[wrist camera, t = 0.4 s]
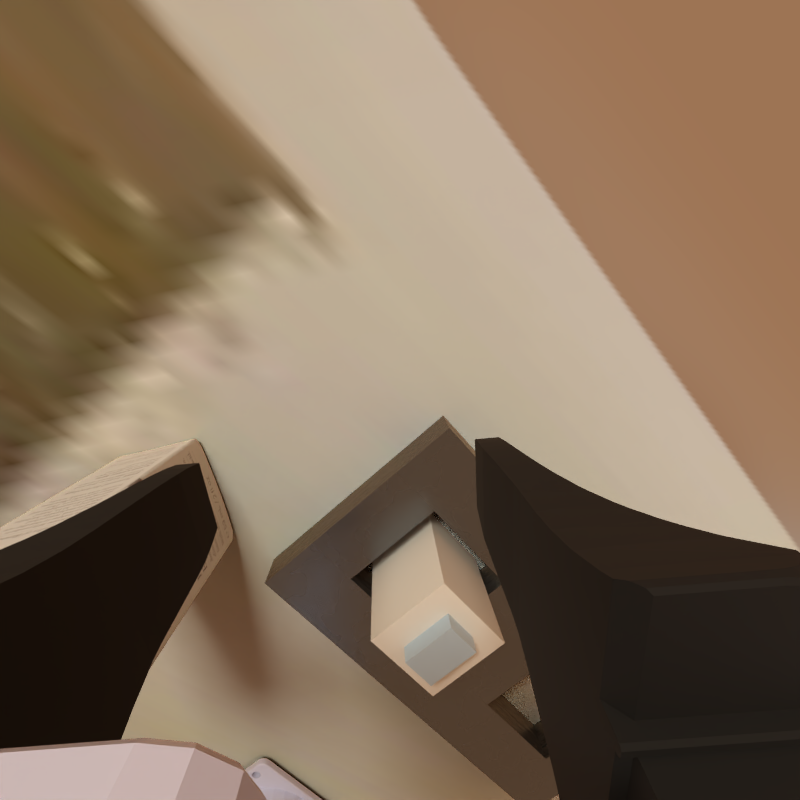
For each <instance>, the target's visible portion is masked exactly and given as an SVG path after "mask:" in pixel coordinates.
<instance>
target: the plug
mask: <svg viewBox="0 0 800 800" xmlns="http://www.w3.org/2000/svg"><path fill="white" fill-rule="evenodd" d="M371 642H372V643H374V644H375V645H376V646H377V647H378V648H379V649H380V650H381V651H383V652H384V653H385V654H386V655H387V656H388V657H389V658H390V659H392V660H393V661H394V662H395V663H396V664H397V665H398V666H399V667H401V668H402V669H403V670H404V671H405V672H406V673H407V674H408V675H410V676H411V677H412V678H413V679H414V680H415V681H416V682H417V683H419V684H420V685H421V686H422V687H423V688H424V689H425V690H426V691H428V692H429V693H430V694H431V695H432V696H434V695H436V694H437V693H438V692H440V691H441V690H442V689H444V688H445V687H446V686H448V685H449V684H450V683H452V682H453V681H454V680H456V679H457V678H458V677H460V676H461V675H463V674H464V673H465V672H467V671H468V670H469V669H471V668H472V667H473V666H475V665H476V664H477V663H479V662H480V661H481V660H483V659H484V658H485V657H487V656H488V655H490V654H491V653H492V652H494V651H495V650H496V649H498V648H499V647H500V646H502V645H503V644H504V643H505V642H504V639H503V636H502V633H501V630H500V628H499V625H498V622H497V619H496V616H495V614H494V611H493V608H492V605H491V602H490V599H489V597H488V594H487V591H486V588H485V585H484V582H483V580H482V577H481V574H480V571H479V568H478V565H477V563H476V560H475V558H474V557H473V556H472V555H471V554H470V553H469V552H468V551H467V550H466V549H465V548H464V547H463V546H462V545H461V543H460V542H459V541H458V540H457V539H456V538H455V537H454V536H453V535H452V534H451V533H450V532H449V531H448V530H447V529H446V528H445V527H444V526H443V525H442V524H441V523H440V522H439V521H438V520H437V519H436V518H435V517H434V516H433V515H432V514H430V515H429V516H428V517H427V518H425V519H424V520H423V521H422V522H421V523H419V524H418V525H417V526H416V527H414V528H413V529H412V530H411V531H409V532H408V533H407V534H406V535H405V536H403V537H402V538H401V539H400V540H398V541H397V542H396V543H395V544H393V545H392V546H391V547H390V548H389V549H387V550H386V551H385V552H384V553H382V554H381V555H380V556H379V557H378V558H376V559H375V560H374V561H373V568H372V607H371Z"/></svg>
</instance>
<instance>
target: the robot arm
mask: <svg viewBox="0 0 800 800" xmlns="http://www.w3.org/2000/svg"><path fill="white" fill-rule="evenodd" d="M475 457H476V494H477V509H478V514H479V518H480V523H481V527H482V531H483V536H484V540H485V542H486V545H487V548H488V551H489V553H490V556H491V559H492V562H493V564H494V567H495V570H496V572H497V575H498V578H499V580H500V583H501V586H502V588H503V591H504V594H505V596H506V599H507V601H508V604H509V607H510V609H511V612H512V615H513V618H514V621H515V624H516V627H517V630H518V633H519V637H520V641H521V644H522V648H523V652H524V656H525V660H526V663H527V667H528V671H529V675H530V679H531V683H532V687H533V691H534V695H535V698H536V702H537V706H538V710H539V714H540V718H541V722H542V726H543V731H544V735H545V739H546V743H547V747H548V752H549V756H550V760H551V764H552V768H553V773H554V777H555V781H556V785H557V790H558V794H559V798H560V800H800V553H799V552H798V551H797V550H792V549H787V548H782V547H777V546H772V545H767V544H761V543H756V542H751V541H746V540H741V539H736V538H731V537H726V536H722V535H717V534H713V533H710V532H706V531H702V530H698V529H694V528H690V527H686V526H683V525H679V524H676V523H672V522H669V521H666V520H662V519H659V518H656V517H653V516H650V515H647V514H645V513H642V512H639V511H636V510H633V509H630V508H627V507H625V506H622V505H620V504H617V503H615V502H612V501H610V500H608V499H605V498H603V497H601V496H599V495H596V494H594V493H592V492H590V491H587V490H585V489H583V488H581V487H579V486H577V485H575V484H574V483H572V482H570V481H568V480H566V479H564V478H563V477H561V476H559V475H557V474H555V473H554V472H552V471H550V470H549V469H547V468H545V467H544V466H542V465H540V464H539V463H537V462H536V461H534V460H533V459H531V458H530V457H528V456H527V455H525V454H524V453H522V452H521V451H519V450H518V449H516V448H515V447H513V446H512V445H510V444H509V443H507V442H506V441H504V440H502V439H501V438H499V437H497V438H486V439H475ZM217 529H218V527H217V524H216V520H215V517H214V513H213V510H212V506H211V503H210V499H209V496H208V492H207V489H206V485H205V481H204V478H203V474H202V471H201V467H200V464H199V463H192V464H180V465H174V466H172V467H169V468H166V469H164V470H162V471H160V472H158V473H156V474H153V475H151V476H149V477H147V478H146V479H144V480H142V481H140V482H138V483H136V484H134V485H132V486H130V487H128V488H126V489H125V490H123V491H121V492H119V493H117V494H115V495H113V496H111V497H110V498H108V499H106V500H104V501H102V502H100V503H98V504H96V505H94V506H92V507H90V508H88V509H86V510H84V511H82V512H80V513H78V514H76V515H74V516H72V517H70V518H68V519H66V520H64V521H63V522H61V523H59V524H57V525H55V526H52V527H50V528H48V529H46V530H44V531H42V532H40V533H37V534H35V535H33V536H31V537H29V538H26V539H24V540H22V541H19V542H17V543H15V544H12V545H10V546H8V547H5V548H3V549H0V800H322V799H321V798H319V797H318V796H317V795H315V794H314V793H313V792H311V791H310V790H309V789H307V788H306V787H305V786H303V785H302V784H301V783H299V782H298V781H297V780H295V779H294V778H293V777H291V776H290V775H289V774H287V773H286V772H285V771H283V770H282V769H281V768H279V767H278V766H277V765H275V764H274V763H273V762H271V761H270V760H269V759H267V758H261V759H259V760H257V761H256V762H254V763H253V764H252V765H250V766H249V767H248V768H247V769H244V768H243V767H242V766H241V764H240V763H239V762H237V761H234V760H232V759H230V758H228V757H226V756H224V755H222V754H219V753H217V752H215V751H213V750H211V749H209V748H206V747H204V746H202V745H200V744H198V743H193V742H182V741H172V740H161V739H151V738H137V739H124V740H121V738H122V735H123V733H124V730H125V727H126V725H127V722H128V720H129V717H130V714H131V712H132V709H133V707H134V704H135V702H136V700H137V697H138V695H139V692H140V690H141V688H142V685H143V683H144V681H145V678H146V676H147V673H148V671H149V669H150V666H151V664H152V662H153V660H154V658H155V656H156V654H157V652H158V650H159V648H160V646H161V644H162V642H163V640H164V638H165V636H166V634H167V633H168V631H169V629H170V627H171V625H172V623H173V622H174V620H175V618H176V616H177V614H178V612H179V611H180V609H181V607H182V605H183V603H184V601H185V600H186V598H187V596H188V594H189V592H190V590H191V589H192V587H193V585H194V583H195V581H196V579H197V577H198V575H199V574H200V572H201V570H202V568H203V566H204V564H205V562H206V559H207V557H208V554H209V552H210V549H211V546H212V543H213V540H214V537H215V535H216V532H217Z"/></svg>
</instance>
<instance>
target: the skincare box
mask: <svg viewBox="0 0 800 800" xmlns="http://www.w3.org/2000/svg"><path fill="white" fill-rule="evenodd" d="M192 463H199V464H200V467H201V471H202V474H203V478H204V481H205V485H206V489H207V492H208V496H209V499H210V503H211V506H212V510H213V513H214V517H215V520H216V524H217V527H218V529H217V532H216V535H215V537H214V540H213V543H212V546H211V549H210V552H209V554H208V557H207V559H206V562H205V564H204V566H203V568H202V570H201V572H200V574H199V575H198V577H197V579H196V581H195V583H194V585H193V587H192V589H191V590H190V592H189V594H188V596H187V598H186V600H185V601H184V603H183V605H182V607H181V609H180V611H179V612H178V614H177V616H176V618H175V620H174V622H173V623H172V625H171V627H170V629H169V631H168V633H167V634H166V636H165V638H164V640H163V642H162V644H161V646H160V648H159V650H158V652H157V654H156V656H155V658H154V660H153V662H152V664H153V663H154V661H155V660H156V658H157V657H158V655H159V654H160V652H161V651H162V649H163V648H164V646H165V644H166V643H167V641H168V639H169V638H170V636H171V635H172V633H173V632H174V630H175V629H176V627H177V626H178V624H179V623H180V621H181V620H182V618H183V616H184V615H185V613H186V612H187V610H188V609H189V607H190V606H191V604H192V603H193V601H194V599H195V598H196V596H197V595H198V593H199V592H200V590H201V589H202V587H203V585H204V584H205V582H206V581H207V579H208V578H209V576H210V575H211V573H212V572H213V570H214V568H215V567H216V565H217V564H218V562H219V561H220V559H221V558H222V556H223V554H224V553H225V551H226V550H227V548H228V547H229V545H230V544H231V542H232V541H233V530H232V526H231V523H230V520H229V517H228V514H227V511H226V508H225V505H224V502H223V499H222V496H221V494H220V491H219V488H218V486H217V483H216V480H215V478H214V475H213V473H212V471H211V468H210V465H209V463H208V461H207V458H206V456H205V453H204V451H203V449H202V447H201V445H200V443H199V442H198V441H197V440H196V439H191V440H187V441H183V442H178V443H174V444H170V445H166V446H163V447H159V448H154V449H151V450H146V451H142V452H138V453H133V454H129V455H124V456H120V457H118V458H116V459H115V460H113V461H111V462H110V463H108V464H106V465H105V466H103V467H102V468H100V469H98V470H97V471H95V472H93V473H92V474H90V475H88V476H86V477H85V478H83V479H81V480H80V481H78V482H76V483H75V484H73V485H71V486H69V487H68V488H66V489H64V490H63V491H61V492H59V493H58V494H56V495H54V496H53V497H51V498H49V499H47V500H46V501H44V502H42V503H41V504H39V505H37V506H36V507H34V508H32V509H31V510H29V511H27V512H25V513H24V514H22V515H20V516H19V517H17V518H15V519H14V520H12V521H10V522H9V523H7V524H5V525H4V526H2V527H0V549H3V548H5V547H8V546H10V545H12V544H15V543H17V542H19V541H22V540H24V539H26V538H29V537H31V536H33V535H35V534H37V533H40V532H42V531H44V530H46V529H48V528H50V527H52V526H55V525H57V524H59V523H61V522H63V521H64V520H66V519H68V518H70V517H72V516H74V515H76V514H78V513H80V512H82V511H84V510H86V509H88V508H90V507H92V506H94V505H96V504H98V503H100V502H102V501H104V500H106V499H108V498H110V497H111V496H113V495H115V494H117V493H119V492H121V491H123V490H125V489H126V488H128V487H130V486H132V485H134V484H136V483H138V482H140V481H142V480H144V479H146V478H147V477H149V476H151V475H153V474H156V473H158V472H160V471H162V470H164V469H166V468H169V467H172V466H174V465H180V464H192ZM152 664H151V666H152ZM151 666H150V668H151Z"/></svg>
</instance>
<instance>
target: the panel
mask: <svg viewBox="0 0 800 800" xmlns="http://www.w3.org/2000/svg"><path fill="white" fill-rule="evenodd" d="M434 511H435V512H436V513H437V514H438V515H439V516H440V517H441V518H442V519H443V521H444V522H445V523H446V524H447V525H448V526H449V527H450V528H451V529H452V530H453V531H454V532H455V533H456V534H457V535H458V536H459V537H460V538H461V539H462V540H463V541H464V542H465V543H466V544H467V545H468V546H469V547H470V548H471V549H472V550H473V551H474V552H475V554H476V555H477V556H478V557H479V558H480V559H481V560H482V561H483V562H484V563H485V564H486V566H485V567H484V568H482V569H481V570H480V574H481V577H482V580H483V582H484V585H485V588H486V591H487V594H488V597H489V599H490V602H491V605H492V608H493V611H494V614H495V616H496V619H497V622H498V625H499V628H500V630H501V633H502V636H503V639H504V642H505V643H504V644H503V645H502V646H500V647H499V648H498V649H496V650H495V651H494V652H492V653H491V654H490V655H488V656H487V657H485V658H484V659H483V660H481V661H480V662H479V663H477V664H476V665H475V666H473V667H472V668H471V669H469V670H468V671H467V672H465V673H464V674H463V675H461V676H460V677H458V678H457V679H456V680H454V681H453V682H452V683H450V684H449V685H448V686H446V687H445V688H444V689H442V690H441V691H440V692H438V693H437V694H436V695H434V696H432V695H431V694H430V693H429V692H428V691H426V690H425V689H424V688H423V687H422V686H421V685H420V684H419V683H417V682H416V681H415V680H414V679H413V678H412V677H411V676H410V675H408V674H407V673H406V672H405V671H404V670H403V669H402V668H401V667H399V666H398V665H397V664H396V663H395V662H394V661H393V660H392V659H390V658H389V657H388V656H387V655H386V654H385V653H384V652H383V651H381V650H380V649H379V648H378V647H377V646H376V645H375V644H374V643H372V642H371V607H372V573H371V572H370V571H369V570H368V569H367V568H366V566H368V565H369V564H370V563H371V562H373V561H374V560H375V559H376V558H378V557H379V556H380V555H381V554H382V553H384V552H385V551H386V550H387V549H389V548H390V547H391V546H392V545H393V544H395V543H396V542H397V541H398V540H400V539H401V538H402V537H403V536H405V535H406V534H407V533H408V532H409V531H411V530H412V529H413V528H414V527H416V526H417V525H418V524H419V523H421V522H422V521H423V520H424V519H425V518H427V517H428V516H429V515H430V514H432V513H433V512H434ZM265 584H266V585H268V586H269V587H270V588H271V589H272V590H273V591H274V592H276V593H277V594H278V595H279V596H280V597H281V598H283V599H284V600H285V601H286V602H287V603H288V604H289V605H291V606H292V607H293V608H294V609H295V610H296V611H298V612H299V613H300V614H301V615H302V616H303V617H304V618H306V619H307V620H308V621H309V622H310V623H311V624H313V625H314V626H315V627H316V628H317V629H318V630H320V631H321V632H322V633H323V634H324V635H325V636H326V637H328V638H329V639H330V640H331V641H332V642H333V643H335V644H336V645H337V646H338V647H339V648H340V649H341V650H343V651H344V652H345V653H346V654H347V655H348V656H350V657H351V658H352V659H353V660H354V661H355V662H356V663H358V664H359V665H360V666H361V667H362V668H363V669H365V670H366V671H367V672H368V673H369V674H370V675H371V676H373V677H374V678H375V679H376V680H377V681H378V682H380V683H381V684H382V685H383V686H384V687H385V688H386V689H388V690H389V691H390V692H391V693H392V694H393V695H395V696H396V697H397V698H398V699H399V700H400V701H401V702H403V703H404V704H405V705H406V706H407V707H408V708H410V709H411V710H412V711H413V712H414V713H415V714H416V715H418V716H419V717H420V718H421V719H422V720H423V721H425V722H426V723H427V724H428V725H429V726H430V727H431V728H433V729H434V730H435V731H436V732H437V733H438V734H440V735H441V736H442V737H443V738H444V739H445V740H446V741H448V742H449V743H450V744H451V745H452V746H453V747H455V748H456V749H457V750H458V751H459V752H460V753H462V754H463V755H464V756H465V757H466V758H467V759H468V760H470V761H471V762H472V763H473V764H474V765H475V766H477V767H478V768H479V769H480V770H481V771H482V772H483V773H485V774H486V775H487V776H488V777H489V778H490V779H492V780H493V781H494V782H495V783H496V784H497V785H498V786H500V787H501V788H502V789H503V790H504V791H505V792H507V793H508V794H509V795H510V796H511V797H512V798H513V799H515V800H550V799H552V798H553V797H555V796H556V795H558V790H557V785H556V781H555V777H554V773H553V768H552V764H551V760H550V756H549V752H548V747H547V743H546V739H545V735H544V731H543V726H542V722H541V721H540V722H539V723H537V724H536V725H533V724H532V723H531V722H530V721H529V720H528V719H527V718H526V717H525V716H523V715H522V714H521V713H520V712H519V711H518V710H517V709H516V708H515V707H514V706H513V705H512V704H511V703H510V702H509V701H508V700H506V699H505V698H504V697H503V696H502V695H501V694H503V693H504V692H506V691H507V690H508V689H510V688H511V687H513V686H514V685H515V684H517V683H518V682H519V681H521V680H522V679H524V678H525V677H526V676H528V675H529V671H528V667H527V663H526V660H525V656H524V652H523V648H522V644H521V641H520V637H519V633H518V630H517V627H516V624H515V621H514V618H513V615H512V612H511V609H510V607H509V604H508V601H507V599H506V596H505V594H504V591H503V588H502V586H501V583H500V580H499V578H498V575H497V572H496V570H495V567H494V564H493V562H492V559H491V556H490V553H489V551H488V548H487V545H486V542H485V540H484V536H483V531H482V527H481V523H480V518H479V514H478V509H477V494H476V457H475V450H474V449H473V448H472V447H471V446H470V445H469V444H468V443H467V441H466V440H465V439H464V438H463V437H462V436H461V435H460V434H459V433H458V431H457V430H456V429H455V428H454V427H453V426H452V425H451V424H450V423H449V421H448V420H447V419H446V418H445V417H444V416H442V417H441V418H440V419H439V420H438V421H437V422H435V423H434V424H433V425H432V426H431V427H429V428H428V429H427V430H426V431H425V432H424V433H422V434H421V435H420V436H419V437H418V438H417V439H415V440H414V441H413V442H412V443H411V444H409V445H408V446H407V447H406V448H405V449H404V450H402V451H401V452H400V453H399V454H398V455H396V456H395V457H394V458H393V459H392V460H391V461H389V462H388V463H387V464H386V465H385V466H383V467H382V468H381V469H380V470H379V471H378V472H376V473H375V474H374V475H373V476H372V477H371V478H369V479H368V480H367V481H366V482H365V483H363V484H362V485H361V486H360V487H359V488H358V489H356V490H355V491H354V492H353V493H352V494H350V495H349V496H348V497H347V498H346V499H345V500H343V501H342V502H341V503H340V504H339V505H337V506H336V507H335V508H334V509H333V510H332V511H330V512H329V513H328V514H327V515H326V516H325V517H323V518H322V519H321V520H320V521H319V522H317V523H316V524H315V525H314V526H313V527H312V528H310V529H309V530H308V531H307V532H306V533H304V534H303V535H302V536H301V537H300V538H299V539H297V540H296V541H295V542H294V543H293V544H291V545H290V546H289V547H288V548H287V549H286V550H284V551H283V552H282V553H281V554H280V555H279V556H277V557H276V558H275V559H274V561H273V564H272V566H271V569H270V571H269V574H268V576H267V579H266V582H265Z"/></svg>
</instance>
